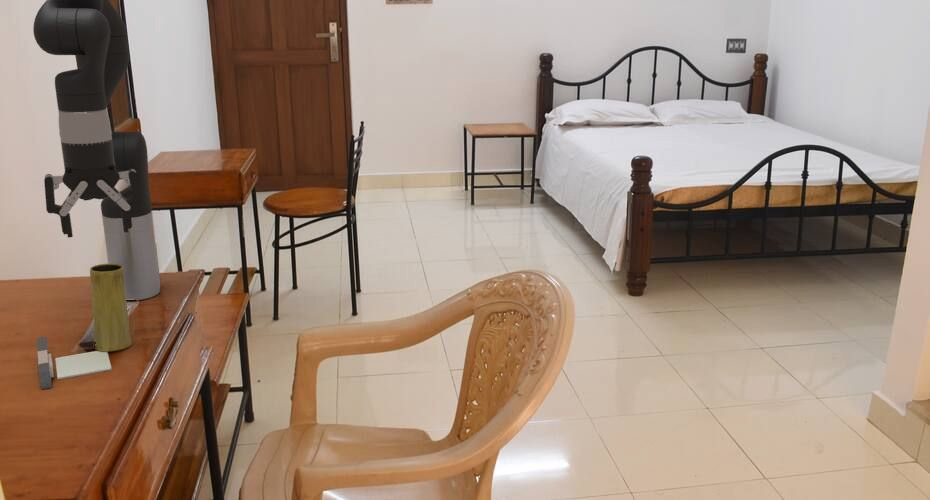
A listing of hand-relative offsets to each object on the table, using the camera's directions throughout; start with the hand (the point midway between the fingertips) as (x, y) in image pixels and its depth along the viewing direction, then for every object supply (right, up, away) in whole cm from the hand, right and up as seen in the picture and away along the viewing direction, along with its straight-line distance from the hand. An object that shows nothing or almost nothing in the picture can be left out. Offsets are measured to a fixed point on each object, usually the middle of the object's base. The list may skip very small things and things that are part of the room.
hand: (98, 233), depth 134 cm
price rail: (-8, -22, -2) cm, 24 cm away
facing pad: (-2, -22, 0) cm, 22 cm away
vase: (0, -20, +7) cm, 21 cm away
